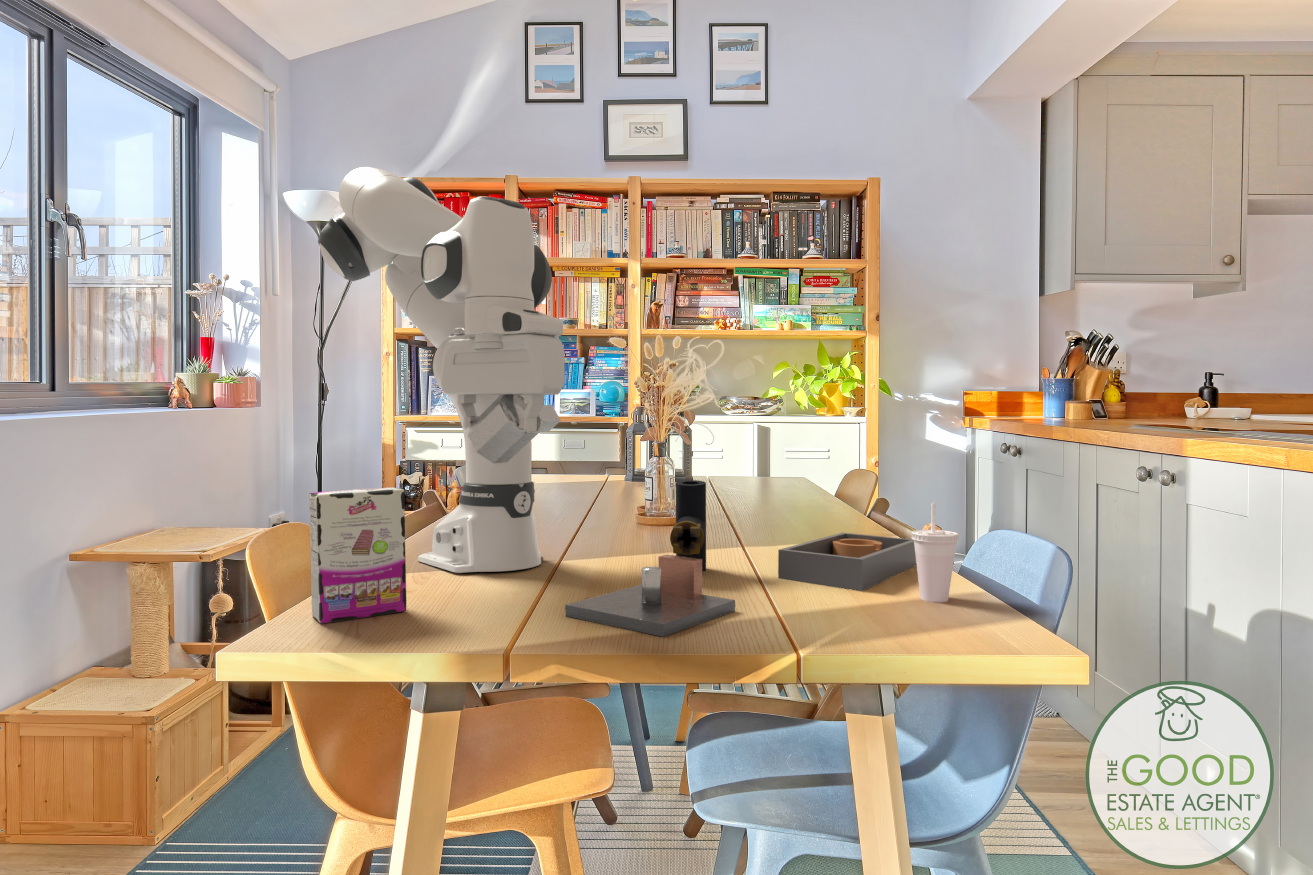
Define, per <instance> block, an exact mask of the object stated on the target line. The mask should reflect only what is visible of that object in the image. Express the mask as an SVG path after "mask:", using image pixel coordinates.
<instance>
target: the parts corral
mask: <svg viewBox="0 0 1313 875" xmlns="http://www.w3.org/2000/svg"><path fill="white" fill-rule="evenodd" d="M837 539H867V540H875V541H879V542H881V543H882V550H880V551H877V552H874V553H871V554H868V555H865V556H862V557H860V558H856V557H847V556H839V555H833V541H835V540H837ZM777 552H778V557H777V558H778V560H777V561H778V566H777V568H778V569H777V574H778V576H777V578H778V580H779V579H780V580H786V581H793V582H800V583H806V584H811V585H818V586H825V587H831V588H837V587H838V588H837V589H843V588H844V589H845V590H849V589H852V590H851V591H857V592H864V591H866V590H868V589H870V588H873V587H874V586H877V585H878V584H881V583H883V582H885V581H887V580H889V579H891V578H893V577H895V576H897V575H899V574H902V573H903V572H905V571H907V570H909V569H911V568H913V567H915V566H914V565H916V564H917V563H916V555H915V546H914V540H913V539H912V538H903V537H893V536H892V537H891V536H883V535H881V536H880V535H874V534H873V535H872V534H861V533H850V532H840V533H836V534H832V535H828V536H825V537H820V538H818V539H814V540H810V541H805V542H802V543H798V544H794V545H791V546H787V547H784V548H780V549H778V551H777ZM916 566H917V565H916ZM906 569H907V570H906ZM898 573H899V574H898ZM894 575H895V576H894ZM892 576H893V577H892ZM890 577H891V578H890ZM844 589H843V590H844Z"/></svg>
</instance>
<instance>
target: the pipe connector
mask: <svg viewBox="0 0 1313 875" xmlns="http://www.w3.org/2000/svg"><path fill="white" fill-rule="evenodd" d="M669 535H670V536H669V541H670V545H671V546H672V553H673V554H675V556H682V557H689V558H697V559H702V573H704V572H706V571H707V482H705V481H704V480H703V481H702V480H698V479H697V480H696V479H691V480H690V479H687V480H685V479H684V480H679V481H676V482H675V523H674V525H673V527H672V530H671V532H670V534H669Z"/></svg>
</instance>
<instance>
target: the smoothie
mask: <svg viewBox="0 0 1313 875" xmlns="http://www.w3.org/2000/svg"><path fill="white" fill-rule="evenodd" d="M936 505H937V504H936V502H931V513H930V515H931V520H930V521H931V522H930V523H931V524H930V525H931V527H930V529H917V530H913V531H912V532H911V539H913V540H914V546H915V555H916V563H917V565H916V571H917V581H918V589H919V596H920V600H922V601H924V602H928V603H945V602H948V601H949V596H950V590H951V582H952V577H953V576H952V575H953V568H954V563H955V562H954V560H955V554H956V548H957V543H958V542H960V539H959V533H958V532H955V531H949V530H942V529H936Z"/></svg>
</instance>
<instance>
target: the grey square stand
mask: <svg viewBox="0 0 1313 875" xmlns="http://www.w3.org/2000/svg"><path fill="white" fill-rule="evenodd" d="M564 608H565V612H564V613H565V617H566V618H567V617H568V618H573V619H578V620H582V621H587V622H591V623H596V624H601V625H605V626H610V627H615V628H620V629H623V630H624V629H625V630H630V631H633V632H638V633H644V634H648V635H654V636H658V637H662V638H665V637H667V636H669V635H673V634H675V633H678V632H681V631H684V630H686V629H689V628H692V627H695V626H697V625H700V624H703V623H706V622H709V621H711V620H714V619H717V618H719V617H722V616H725V615H728V614H732V613H733V612H735V611H736V599H733V598H732V599H731V598H725V597H719V596H713V595H708V594H703V572H702V559H697V558H689V557H682V556H676V555H675V554H674V555H673V554H664V555H659V556H658V566H644V567H641V584H639V585H638V584H637V585H635V586H632V587H628V588H623V589H619V590H616V591H612V592H608V593H604V594H601V595H597V596H594V597H589V598H585V599H581V600H578V601H574V602H570V603H566V604H565V607H564Z"/></svg>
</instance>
